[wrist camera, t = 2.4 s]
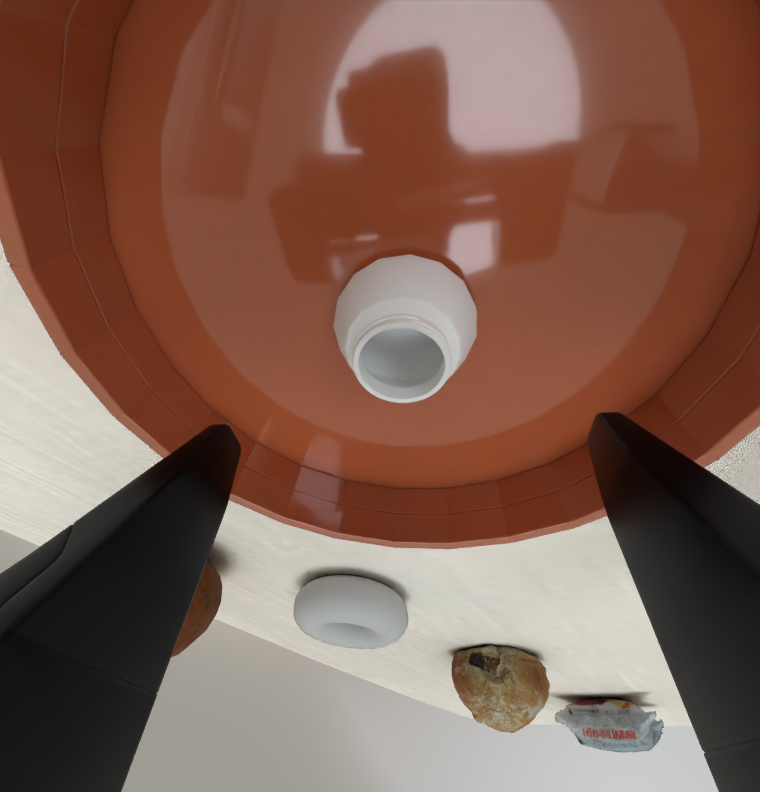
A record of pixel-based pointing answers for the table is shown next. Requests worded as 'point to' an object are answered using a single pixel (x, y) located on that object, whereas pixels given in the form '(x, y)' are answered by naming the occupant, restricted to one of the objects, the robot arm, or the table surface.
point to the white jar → (405, 326)
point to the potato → (201, 608)
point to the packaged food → (611, 725)
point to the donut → (351, 612)
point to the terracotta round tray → (394, 236)
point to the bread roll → (500, 685)
